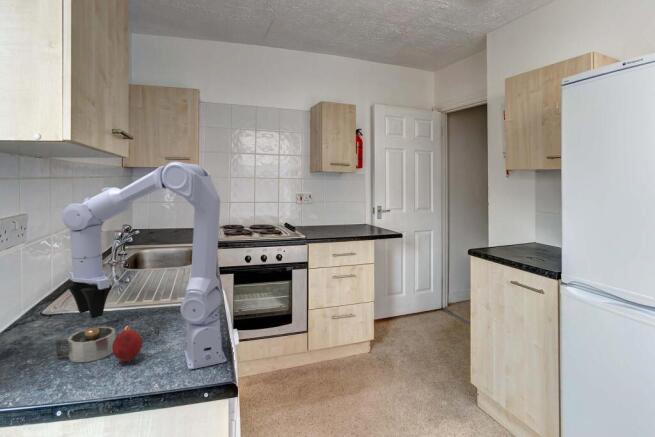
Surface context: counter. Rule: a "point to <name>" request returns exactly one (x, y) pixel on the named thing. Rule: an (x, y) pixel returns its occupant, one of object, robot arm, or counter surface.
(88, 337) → the plunger
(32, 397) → the counter surface
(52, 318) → the counter surface
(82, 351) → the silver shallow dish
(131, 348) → the onion
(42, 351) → the counter surface
